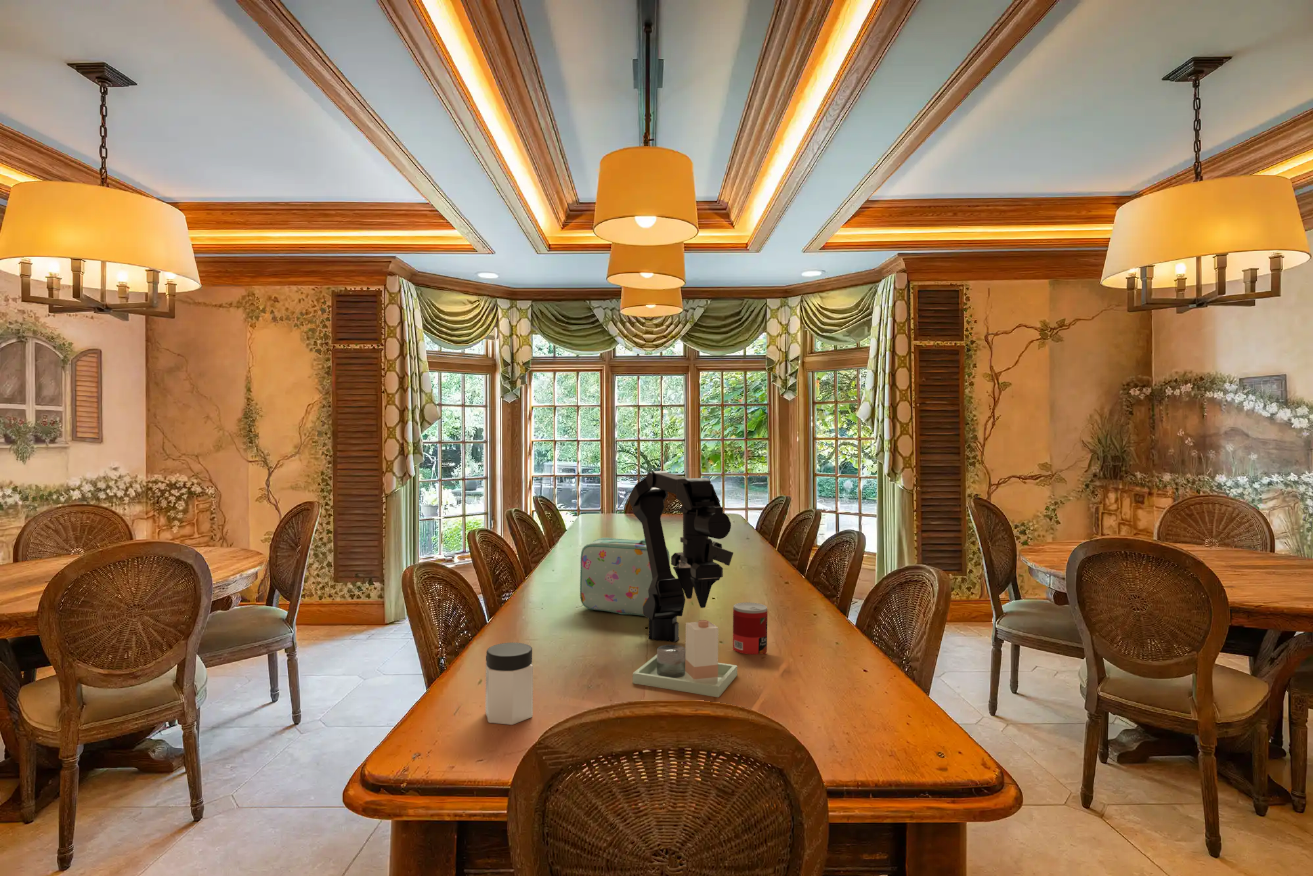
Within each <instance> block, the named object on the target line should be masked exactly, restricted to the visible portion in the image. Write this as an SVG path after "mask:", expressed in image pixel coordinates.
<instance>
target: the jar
mask: <svg viewBox="0 0 1313 876" xmlns="http://www.w3.org/2000/svg"><path fill="white" fill-rule="evenodd" d="M485 652H486V653H485V654H486V655H485V715H486V719H487V723H489V724H499V725H510V726H512V725H515V724H518V723H520V722H523V721H525V720H528V719H530V718H532V717H533V716H534V715H533V714H534V713H533V711H534V707H533V706H534V705H533V704H534V699H533V698H534V665H533V647H532V646H531V645H529V644H528V643H523V642H502V643H498V644H497V643H496V644H494V645H492V646H490V647H488V648H487V649H486V651H485Z"/></svg>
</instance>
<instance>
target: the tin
mask: <svg viewBox="0 0 1313 876" xmlns="http://www.w3.org/2000/svg"><path fill="white" fill-rule="evenodd" d="M685 654H686V647H684V646H682V645H679V644H678V645H676V644H664V645H660V646H658V647H657V649H656V655H657V674H658V675H659V676H664V677H670V678H679V677H682V676H684V675H685Z"/></svg>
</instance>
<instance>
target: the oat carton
mask: <svg viewBox="0 0 1313 876" xmlns="http://www.w3.org/2000/svg"><path fill="white" fill-rule="evenodd" d="M685 649H686V654H685V680H689V681H696V682H702V683H709V684H715V685H716V684H717V683H718V663H719V627H718V626H717V625H716V624H714V623H713V622H711V621H709V620H707V619H699V620H698V621H692V622H685Z"/></svg>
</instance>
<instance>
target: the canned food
mask: <svg viewBox="0 0 1313 876" xmlns="http://www.w3.org/2000/svg"><path fill="white" fill-rule="evenodd" d="M732 610H733V612H732V650H733V651H735V652H737V653H740V654H745V655H767V652H768V607H767V605H764V604H763V603H757V602H750V601H749V602H747V601H746V602H738V603H735V604H733V608H732Z"/></svg>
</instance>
